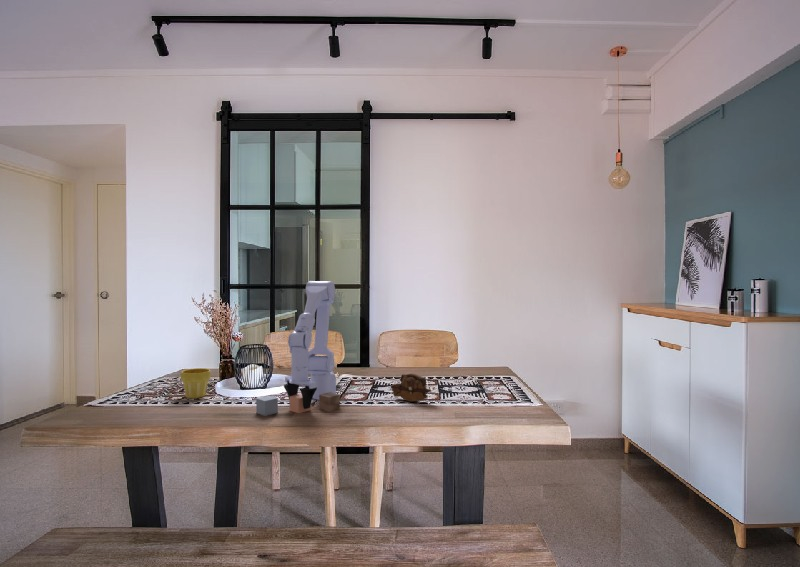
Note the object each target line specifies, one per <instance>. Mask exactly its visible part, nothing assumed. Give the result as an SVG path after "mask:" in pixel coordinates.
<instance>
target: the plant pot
mask: <svg viewBox="0 0 800 567" xmlns="http://www.w3.org/2000/svg"><path fill="white" fill-rule="evenodd" d="M210 379H211V369H210V368H206V367H205V368H197V367H196V368H187V369H184V370H181V372H180V381H181V382H182V383H183V389H184V394H185V397H186V398H188V399H199V398H203V397H205V396H206V392H207V389H208V385H209V380H210Z"/></svg>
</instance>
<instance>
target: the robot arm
mask: <svg viewBox="0 0 800 567" xmlns="http://www.w3.org/2000/svg"><path fill="white" fill-rule="evenodd" d="M305 285H306V286H305V293H306V298H307V299H306V303H305V307H304V312H302V313H301V314H300V315H299V316H298V320H297V321H296V326H294V327H295V328H294V330H293V331H292V332H291V333H290V334H289V336H288V340H287V344H288V347H289V353H290V354H291V359H290V360H291V361H290V362H291V363H290V364H291V369H290V370H291V371H290V372H291V375H288V376H284V377H285V378H284V379H285V380H284V382H285V384H283V388H284V390H285V391H286V394H287V398H288V400H289V402H290V396H293V395H297V394H299V393H298V391H300V394H302V398H303V407H304V409H308V408H310V409H311V405H312V400H313V399H314V400H318V401H319V395H320V394H324V393H328V392H332V393H336V394H337V377H336V374H335V373H334V371H333V370H334V369H335V358H334V357H335V353H334V352H333V351H332V350H331V349H330V348H328V339H329V329H330V328H329V326H330V325H329V324H330V314H331V313H330V312H331V305H332V304H334V302H335V297H336V287H335V286H336V285H335V283H334V282H333V281H332V280H328V281H327V280H326V281H325V280H323V281H322V280H320V281H319V280H317V281H315V280H308V282H306V284H305ZM315 313H316V317H315ZM315 318H316V319H315ZM314 325H315V333H314V344H313V346H314V347H312V349H310V350H309V348H311V344H312V341H313V340H312V339H313V338H312V337H313V333H312V332H313V328H314ZM309 375H310V378H309ZM300 386H301V387H302V388H299V387H300Z"/></svg>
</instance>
